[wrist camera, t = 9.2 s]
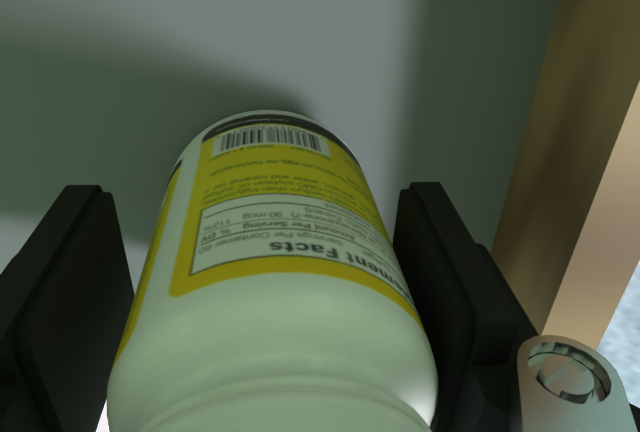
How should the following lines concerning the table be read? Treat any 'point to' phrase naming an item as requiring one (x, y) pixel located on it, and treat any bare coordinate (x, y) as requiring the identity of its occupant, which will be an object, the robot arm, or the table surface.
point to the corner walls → (577, 175)
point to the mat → (262, 96)
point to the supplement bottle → (271, 295)
